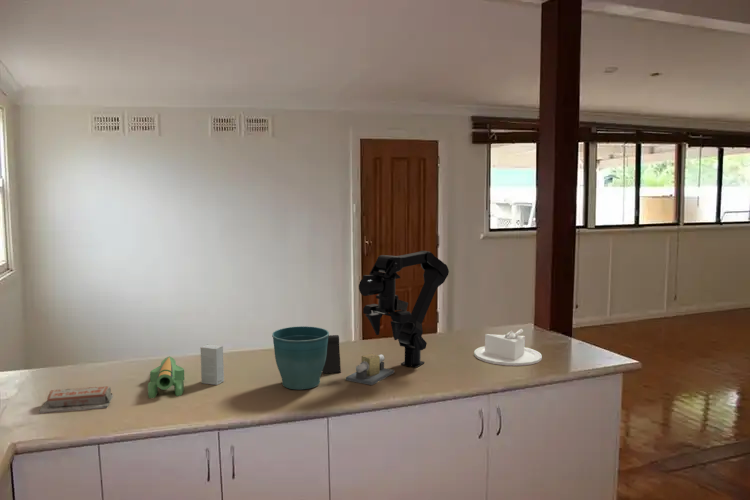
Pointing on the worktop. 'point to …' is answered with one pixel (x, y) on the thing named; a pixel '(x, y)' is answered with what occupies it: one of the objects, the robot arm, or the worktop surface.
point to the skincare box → (212, 364)
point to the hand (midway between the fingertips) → (386, 337)
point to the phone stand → (332, 356)
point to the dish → (507, 350)
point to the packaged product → (77, 399)
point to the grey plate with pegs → (362, 376)
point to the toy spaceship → (166, 378)
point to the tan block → (372, 364)
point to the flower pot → (300, 355)
